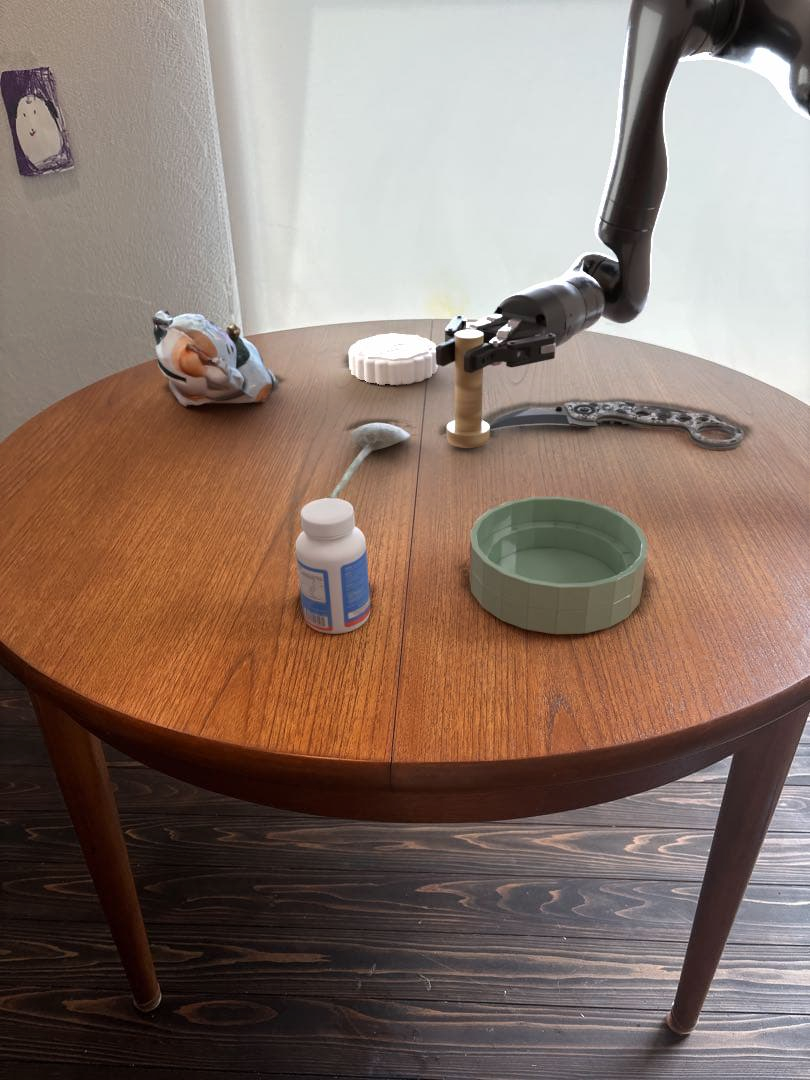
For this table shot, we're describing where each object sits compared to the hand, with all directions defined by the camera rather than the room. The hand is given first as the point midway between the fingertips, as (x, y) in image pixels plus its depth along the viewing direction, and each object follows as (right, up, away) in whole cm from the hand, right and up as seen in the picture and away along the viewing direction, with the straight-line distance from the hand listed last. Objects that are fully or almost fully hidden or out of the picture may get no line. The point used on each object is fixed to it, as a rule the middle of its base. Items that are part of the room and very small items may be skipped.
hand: (453, 359), depth 90 cm
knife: (+19, -6, +10) cm, 22 cm away
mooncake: (-6, +4, +28) cm, 29 cm away
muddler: (+2, -7, +7) cm, 10 cm away
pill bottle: (-10, -25, -20) cm, 34 cm away
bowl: (+7, -23, -17) cm, 30 cm away
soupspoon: (-10, -12, +1) cm, 16 cm away
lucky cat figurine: (-28, -1, +20) cm, 35 cm away
